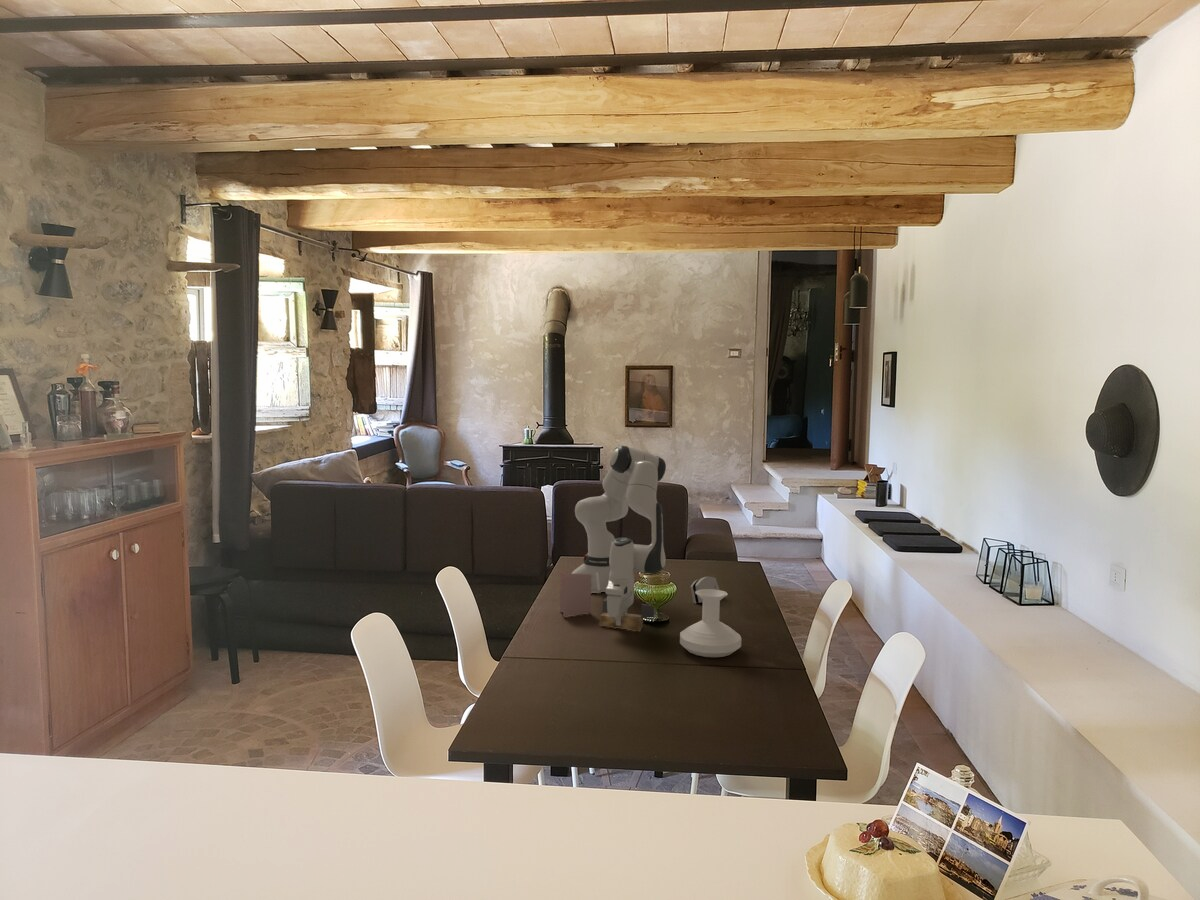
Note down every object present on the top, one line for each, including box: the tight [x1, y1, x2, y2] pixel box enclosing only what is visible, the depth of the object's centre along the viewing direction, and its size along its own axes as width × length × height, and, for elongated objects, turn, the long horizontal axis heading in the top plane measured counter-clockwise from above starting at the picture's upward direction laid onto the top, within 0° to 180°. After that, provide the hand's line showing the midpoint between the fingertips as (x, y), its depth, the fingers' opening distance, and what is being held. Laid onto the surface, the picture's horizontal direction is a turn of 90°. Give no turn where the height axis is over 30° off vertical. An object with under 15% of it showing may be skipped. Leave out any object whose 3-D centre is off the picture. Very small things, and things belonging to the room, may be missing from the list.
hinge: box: [690, 576, 721, 605], centre depth 328 cm, size 17×5×10 cm, turn 144°
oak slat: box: [599, 612, 644, 632], centre depth 290 cm, size 15×4×4 cm, turn 66°
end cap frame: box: [602, 597, 656, 618], centre depth 301 cm, size 19×7×6 cm, turn 71°
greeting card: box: [559, 572, 592, 617], centre depth 303 cm, size 11×7×15 cm, turn 84°
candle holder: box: [679, 589, 742, 658], centre depth 265 cm, size 20×20×19 cm
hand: (620, 623), depth 290 cm, fingers closed on oak slat, 4 cm apart
